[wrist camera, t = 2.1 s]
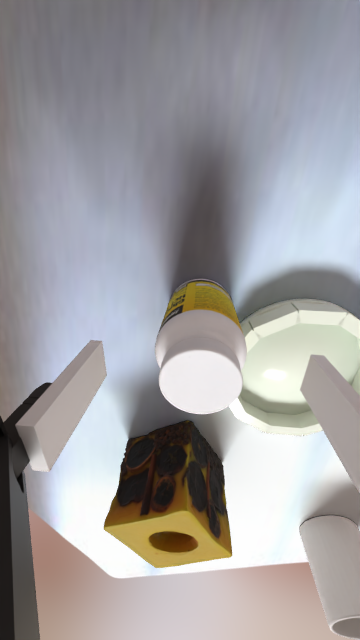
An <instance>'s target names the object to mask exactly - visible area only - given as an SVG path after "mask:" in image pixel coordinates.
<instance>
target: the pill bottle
mask: <svg viewBox="0 0 360 640" xmlns="http://www.w3.org/2000/svg"><path fill="white" fill-rule="evenodd" d="M155 354H156V359H157V362H158V365H159V367H160V372H159V386H160V390H161V392H162V394H163V396H164V397H165V398H166V399H167V400H168V401H169V402H170V403H171V404H172V405H173V406H175V407H177V408H178V409H180V410H183V411H185V412H189V413H194V414H210V413H215V412H218V411H221V410H223V409H225V408H227V407H228V406H230V405H231V404H232V403H233V402H234V401H235V400H236V399H237V398H238V396H239V394H240V392H241V390H242V385H243V377H242V372H241V370H242V368H243V366H244V364H245V361H246V356H247V347H246V341H245V337H244V334H243V331H242V329H241V326H240V323H239V320H238V317H237V314H236V311H235V308H234V305H233V302H232V300H231V297H230V295H229V294H228V292H227V291H226V290H225V289H224V288H223V287H222V286H221V285H220V284H218V283H216V282H214V281H212V280H209V279H193V280H190V281H187V282H185V283H183V284H182V285H180V286H179V287H178V288H177V289H176V290H175V292H174V293H173V295H172V297H171V299H170V301H169V304H168V307H167V310H166V313H165V316H164V319H163V322H162V324H161V327H160V330H159V333H158V335H157V339H156V345H155Z"/></svg>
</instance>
